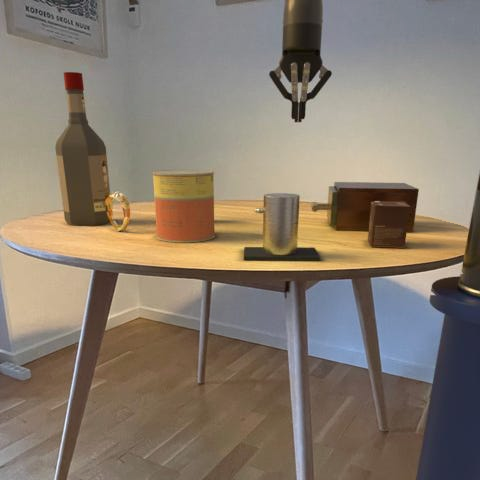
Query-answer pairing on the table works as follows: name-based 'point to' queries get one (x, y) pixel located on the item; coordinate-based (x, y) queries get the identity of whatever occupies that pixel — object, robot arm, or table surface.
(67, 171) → the liquor
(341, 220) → the cabinet
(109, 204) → the ring
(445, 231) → the table surface
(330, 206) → the drawer
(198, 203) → the canned food
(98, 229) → the table surface
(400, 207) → the box
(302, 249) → the trivet
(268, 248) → the measuring cup
